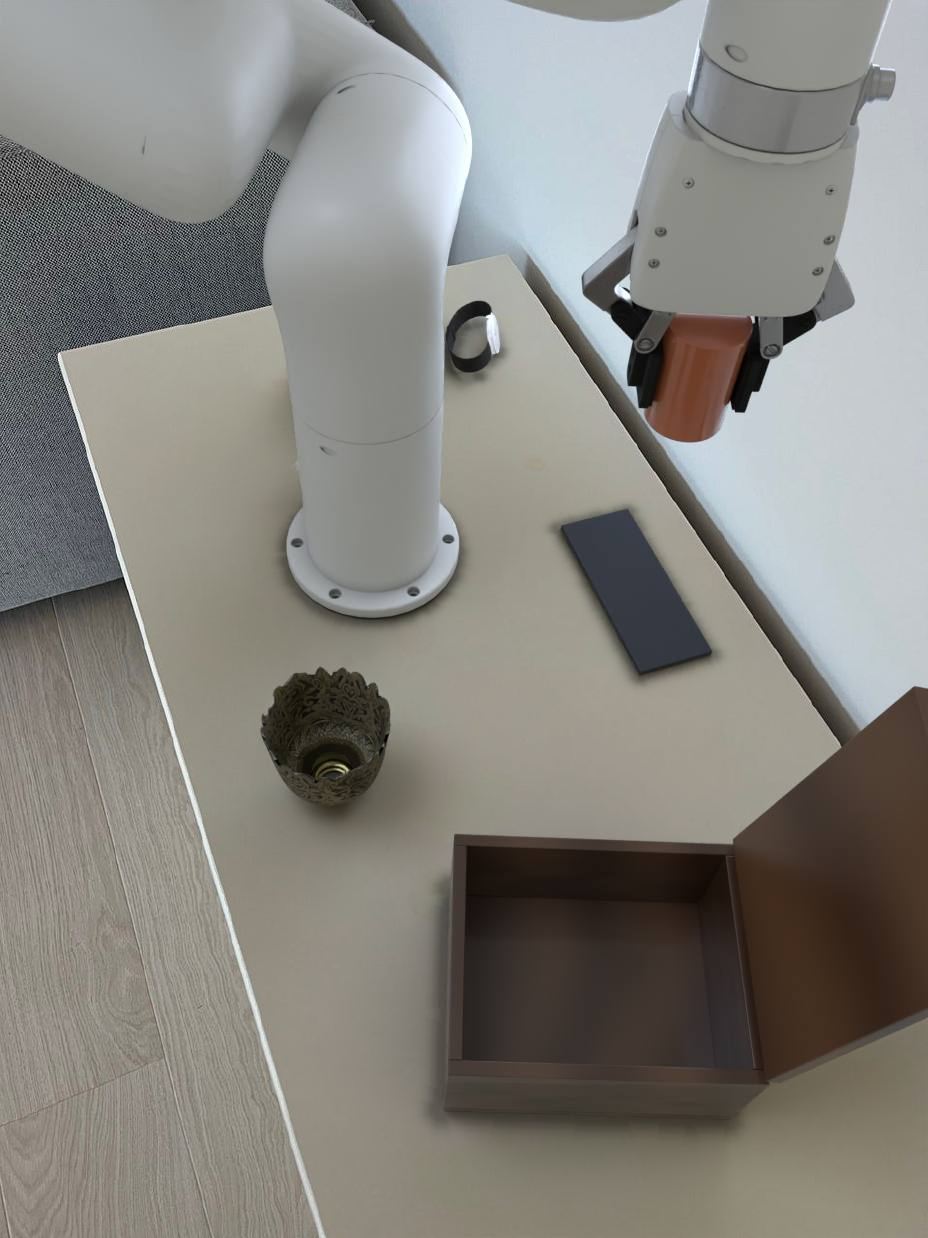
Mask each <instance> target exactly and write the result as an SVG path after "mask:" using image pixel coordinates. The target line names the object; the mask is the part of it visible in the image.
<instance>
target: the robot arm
mask: <svg viewBox="0 0 928 1238" xmlns="http://www.w3.org/2000/svg"><path fill="white" fill-rule="evenodd" d="M505 1H506V2H509V3H512V4H516V5H519V6H522V7H526V8H529V9H532V10H536V11H540V12H543V13H546V14H551V15H555V16H560V17H563V18H566V19H574V20H579V21H585V22H592V23H627V22H633V21H639V20H645V19H648V18H650V17H652V16H656V15H658V14H661V13H664V12H666V11H668V10H669V9H671V8H673V7H675V6H676V5H677V4H679V3H680V2H682V1H683V0H505ZM892 3H893V0H706V4H705V10H704V14H703V20H702V23H701V28H700V33H699V35H698V40H697V44H696V45H697V46H696V50H695V55H694V59H693V65H692V69H691V73H690V79H689V83H688V88H687V89H682V90H678V91H676V92H674V93H672V94H671V96H670V97H669V98H668V100H667V102H666V103H665V106H664V108H663V111H662V114H661V116H660V118H659V120H658V124H657V126H656V128H655V131H654V133H653V137H652V139H651V142H650V145H649V149H648V151H647V154H646V158H645V161H644V164H643V167H642V171H641V174H640V178H639V181H638V185H637V188H636V193H635V196H634V199H633V204H632V208H631V212H630V215H629V218H628V219H629V220H628V223H627V228H626V233H625V235H624V236H623V237H621V238H620V240H618V241H617V242H616V243H615V244H614V245H613V246H611V247H610V248H609V249H608V250H607V251H606V252H605V253H604V254H603V255H601V257H599V258H598V259H597V260H596V261H595V262H594V263H592V265H590V266H589V267H588V268H587V269H586V270H585V271H583V272H582V274H581V292H582V295H583V296H584V298H586V299H587V300H588V301H589V302H591V303H592V304H593V305H595V306H596V307H597V308H598V309H600V310H601V311H602V312H606V313H607V314H608V315H610V318H611V320H612V322H613V323H614V324H615V325H616V326H617V327H618V328H619V329H620V330H621V331H622V333H624V334H625V335H626V336H627V337H628V338H629V339H630V340H631V341H632V343H631V347H630V352H629V357H628V362H627V365H626V383H627V387H631V388H632V387H635V388H636V389H635V390H636V398H637V408H638V409H644V408H645V409H648V407H649V406H652V403H653V398H654V394H655V390H656V386H657V382H658V378H659V374H660V370H661V366H662V361H663V351H662V344H661V338H662V336H663V335H664V333H665V331H666V330H667V328H668V326H669V324H670V323H671V321H672V319H673V318H674V316H675V314H676V313H677V312H678V313H695V314H715V315H737V316H750V317H753V320H752V322H753V331H752V334H751V337H750V340H749V343H748V346H747V350H746V353H745V356H744V359H743V362H742V365H741V368H740V371H739V374H738V378H737V381H736V384H735V387H734V390H733V393H732V396H731V399H730V407H731V410H732V411H734V413H737V414H738V413H739V414H745V413H746V411H747V408H748V405H749V403H750V399H751V396H752V393H759V392H760V391H761V388H762V385H763V382H764V379H765V377H766V373H767V371H768V368H769V365H770V362H771V360H773V359H776V358H778V357H779V356H781V355H782V353H783V350H784V347H785V346H786V345H788V344H790V343H791V342H792V341H795V340H796V339H798V338H800V337H801V336H803V335H805V334H807V333H809V332H810V331H811V330H814V328H815V327H816V325H817V323H819V322H822V323H823V322H825V321H827V320H829V319H831V318H833V317H836V316H838V315H840V314H842V313H844V312H845V311H846V312H847V311H848V310H850V309H851V308H853V306H854V305H855V303H856V299H855V296H854V292H853V290H852V285H851V283H850V281H849V279H848V277H847V275H846V273H845V271H844V269H843V267H842V266H841V264H840V262H839V260H838V258H837V256H836V255H837V252H838V248H839V244H840V240H841V237H842V233H843V229H844V226H845V223H846V222H845V221H846V217H847V212H848V207H849V205H850V204H849V203H850V198H851V193H852V189H853V183H854V177H855V173H856V167H857V166H856V165H857V160H858V152H859V143H860V127H859V120H858V116H859V114H860V111H861V110H862V109H863V107H864V105H865V104H866V105H870V104H872V103H873V102H874V101H879V102H888V101H889V100H890V99H891V97H892V96H893V93H894V90H895V87H896V82H897V81H896V79H897V74H896V70H895V69H894V68H885V67H884V68H883V67H880V65H879V64H873V59H874V57H875V53H876V50H877V48H878V44H879V42H880V39H881V35H882V34H883V31H884V27H885V24H886V22H887V18H888V15H889V12H890V9H891V6H892ZM0 135H1V136H3V137H4V138H6V139H8V140H10V141H11V142H14V143H16V144H18V145H19V146H21V147H23V148H25V149H27V150H29V151H31V152H33V153H35V154H37V155H38V156H40V157H42V158H44V159H46V160H48V161H50V162H52V163H54V164H55V165H58V166H60V167H62V168H63V169H66V170H67V171H69V172H71V173H73V174H75V175H77V176H79V177H81V178H83V179H84V180H87V181H88V182H91V184H94V185H96V186H98V187H100V188H102V189H104V190H105V191H108V192H109V193H111V194H113V195H115V196H117V197H119V198H121V199H124V200H125V201H127V202H129V203H130V204H133V205H135V206H137V207H138V208H141V209H143V210H145V211H147V212H149V213H152V214H154V215H155V216H158V217H161V218H163V219H166V220H169V221H173V222H177V223H182V224H193V225H194V224H202V223H205V222H209V221H212V220H215V219H217V218H219V217H220V216H222V215H223V214H224V213H226V212H227V211H228V210H229V209H231V208H232V207H233V206H234V205H235V204H236V203H237V202H238V200H239V199H240V197H241V196H242V195H243V194H244V192H245V190H246V188H247V187H248V185H249V183H250V181H251V179H252V178H253V177H254V175H255V172H256V171H257V169H258V167H259V166H260V163H261V161H262V159H263V158H264V155H265V154H266V152H267V150H269V151H271V152H273V153H275V154H276V155H278V156H280V157H282V158H284V159H286V160H288V161H289V164H288V165H287V168H286V170H285V172H284V174H283V176H282V179H281V181H280V183H279V185H278V187H277V191H276V193H275V196H274V199H273V201H272V205H271V208H270V210H269V215H268V218H267V222H266V226H265V232H264V238H263V246H262V266H263V274H264V280H265V285H266V289H267V293H268V296H269V300H270V303H271V305H272V308H273V312H274V315H275V318H276V321H277V325H278V329H279V332H280V336H281V342H282V346H283V353H284V358H285V364H286V375H287V380H288V382H287V383H288V389H289V390H288V391H289V399H290V402H291V411H292V412H291V413H292V420H293V421H292V422H293V429H294V439H295V447H296V455H297V460H296V461H295V463H294V468H295V470H296V471H297V472H298V474H299V481H300V490H301V500H302V507H301V508H300V509H299V510H298V512H297V513H296V514H295V516H294V518H293V520H292V522H291V524H290V526H289V528H288V532H287V537H286V556H287V563H288V567H289V570H290V572H291V575H292V577H293V579H294V581H295V582H296V583H297V585H298V586H299V588H300V589H301V590H302V591H303V592H304V593H305V594H306V595H307V596H308V597H309V598H311V600H312V601H314V602H315V603H318V604H319V605H320V606H322V607H325V608H326V609H328V610H331V611H334V612H337V613H338V614H341V615H347V616H350V617H356V618H369V619H370V618H371V619H372V618H373V619H376V618H385V617H394V616H397V615H401V614H404V613H408V612H410V611H413V610H415V609H417V608H419V607H422V606H424V605H426V604H427V603H428V602H430V601H431V600H432V599H434V598H435V597H437V596H438V595H439V594H440V593H441V592H442V591H443V590H444V589H445V588H446V587H447V585H448V583H449V582H450V581H451V579H452V578H453V576H454V573H455V571H456V568H457V565H458V563H459V554H460V535H459V533H458V529H457V525H456V522H455V521H454V518H452V515H451V514H450V512H449V511H448V510H447V509H446V507H445V506H444V505H443V504H442V503H441V479H442V478H441V477H442V476H441V475H442V455H443V454H442V452H443V451H442V450H443V428H444V426H443V423H444V395H445V394H444V385H445V384H444V383H445V329H444V294H445V293H444V292H445V285H446V283H445V282H446V276H447V268H448V262H449V257H450V251H451V247H452V243H453V239H454V235H455V231H456V228H457V223H458V220H459V215H460V208H461V205H462V202H463V201H462V200H463V198H464V194H465V189H466V186H467V181H468V176H469V172H470V168H471V162H472V161H471V160H472V154H473V137H472V131H471V126H470V122H469V118H468V115H467V113H466V111H465V108H464V106H463V104H462V102H461V100H460V99H459V97H458V96H457V94H456V93H455V91H454V90H453V89H452V88H451V87H450V85H449V84H448V83H447V82H446V81H445V79H444V78H442V76H441V75H439V74H438V73H437V72H436V71H435V70H434V69H432V68H431V67H430V66H428V65H427V64H426V63H425V62H423V61H422V60H420V59H419V58H417V57H416V56H414V55H413V54H412V53H410V52H408V51H407V50H405V49H404V48H403V47H401V46H399V45H397V44H396V43H394V42H392V41H391V40H389V39H388V38H386V37H385V36H383V35H382V34H379V33H378V32H376V31H375V30H373V29H372V28H370V27H368V26H366V24H364V23H362V22H360V21H359V20H357V19H356V18H354V17H352V16H350V15H349V14H347V13H345V11H342V10H341V9H339V8H337V7H336V6H334V5H333V4H331V3H329V2H327V1H326V0H0ZM628 276H629V281H630V282H629V289H628V288H627V287H624V286H621V285H620V283H621V282H622V281H623V280H624V279H626V278H627V277H628Z"/></svg>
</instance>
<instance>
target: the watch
mask: <svg viewBox="0 0 928 1238" xmlns="http://www.w3.org/2000/svg"><path fill="white" fill-rule="evenodd" d="M479 317H484V318H485V319H486V339H487V343H486V347H485V348H484V350H482V351H481V353H479V354H478V355H476V356H475V357H474V356H473V357H468V358H463V357H460V356H458V355H456V354H455V353H454V352H453V351H454V344H455V342H456V339H457V333H458V331H459V330H460V328H461V327H462V326H463V325H464V324H465V323H466V322H468V321H470V320H472V319H475V318H479ZM444 338H445V342H446V345H447V349H448V352H449V356H450V359H451V362H452V364H453V366H454V367H455V368H456V369H457V370H459V371H461V372H463V373H468V374H470V373H471V374H472V373H477V372H479V371H482V370H483V369H485V368H486V367H487V366H488V365H489V363H490V362H491V360H492V358H493V357H494V355H496V354H499V352H500V347H501V346H500V345H501V344H500V342H501V341H500V330H499V325H498V320H497V317H496V315H495V314H493V309H492V306H491V304H490V303H488V302H487V301H485V300H473V301H470V302H467V303H465V304H464V305H463V306H461V307H459V308H458V309H457V310H456V312H455V313H454V314H453V316H452V317H451V319H450V321H449V322H448V325H447V326H446V331H445V333H444Z"/></svg>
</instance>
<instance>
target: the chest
mask: <svg viewBox="0 0 928 1238" xmlns="http://www.w3.org/2000/svg"><path fill="white" fill-rule="evenodd" d="M451 854H452V856H451V867H450V880H449V890H448V893H449V894H448V895H449V896H448V928H447V929H448V931H447V959H446V961H447V964H446V965H447V966H446V969H447V970H446V996H445V998H446V999H445V1001H446V1002H445V1033H444V1034H445V1035H444V1067H443V1068H444V1071H443V1072H444V1073H443V1074H444V1075H443V1104H442V1105H443V1107H442V1110H443V1111H445V1112H474V1113H475V1112H477V1113H505V1114H506V1113H507V1114H510V1113H511V1114H541V1115H542V1114H544V1115H571V1116H572V1115H573V1116H574V1115H575V1116H603V1117H604V1116H607V1117H608V1116H609V1117H639V1118H640V1117H641V1118H673V1119H674V1118H675V1119H705V1120H707V1119H708V1120H731V1119H733V1117H735V1116H736V1115H738V1113H740V1112H741V1111H743V1109H744V1108H745V1107H747V1105H749V1104H750V1103H751V1102H752V1101H753V1100H754V1099H755V1098H757V1097H759V1095H760V1094H761V1093H763V1092H764V1091H765V1090H766V1089H767V1088H768V1087H770V1085H771V1084H770V1083H771V1082H767V1081H766V1079H765V1071H764V1064H763V1057H762V1050H761V1042H760V1035H759V1028H758V1021H757V1013H756V1006H755V999H754V992H753V984H752V977H751V970H750V963H749V955H748V948H747V941H746V934H745V926H744V919H743V912H742V905H741V897H740V890H739V883H738V876H737V868H736V861H735V854H734V847H733V843H720V842H719V843H717V842H693V841H692V842H691V841H690V842H689V841H667V840H665V841H664V840H663V841H662V840H639V839H638V840H635V839H634V840H633V839H610V838H609V839H607V838H606V839H605V838H582V837H578V838H577V837H554V836H553V837H552V836H527V835H526V836H525V835H523V836H522V835H501V834H500V835H499V834H494V835H493V834H473V833H454V834H453V843H452V853H451Z"/></svg>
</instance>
